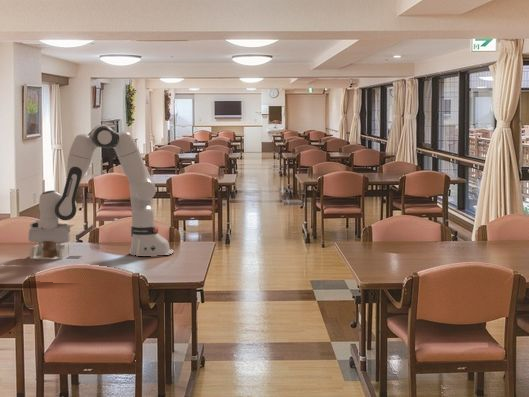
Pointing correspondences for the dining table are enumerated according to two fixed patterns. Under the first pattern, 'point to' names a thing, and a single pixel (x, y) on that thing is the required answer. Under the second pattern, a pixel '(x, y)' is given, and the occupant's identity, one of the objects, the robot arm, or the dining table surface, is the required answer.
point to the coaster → (73, 257)
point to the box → (38, 254)
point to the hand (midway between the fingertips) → (50, 250)
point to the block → (49, 249)
